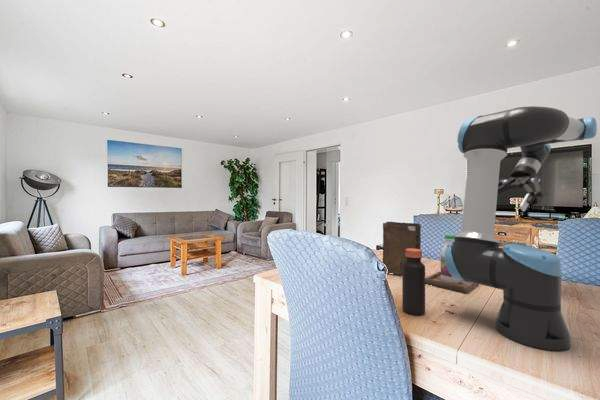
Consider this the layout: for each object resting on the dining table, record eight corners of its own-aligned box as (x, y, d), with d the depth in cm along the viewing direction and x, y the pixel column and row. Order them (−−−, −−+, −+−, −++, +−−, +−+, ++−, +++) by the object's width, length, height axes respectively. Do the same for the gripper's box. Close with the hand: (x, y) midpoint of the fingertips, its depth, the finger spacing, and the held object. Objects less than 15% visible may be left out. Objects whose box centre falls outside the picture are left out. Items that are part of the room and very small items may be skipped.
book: (422, 276, 125) (422, 223, 124) (417, 280, 119) (417, 224, 119) (386, 270, 135) (386, 221, 135) (381, 273, 130) (381, 222, 129)
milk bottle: (456, 278, 117) (456, 233, 117) (465, 284, 109) (465, 235, 109) (437, 278, 117) (437, 233, 117) (445, 284, 110) (445, 235, 110)
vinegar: (421, 317, 82) (421, 252, 82) (399, 311, 86) (399, 250, 86) (427, 310, 87) (427, 249, 87) (406, 305, 91) (406, 247, 91)
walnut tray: (467, 294, 102) (467, 287, 102) (424, 284, 113) (424, 278, 113) (478, 284, 112) (479, 279, 112) (438, 276, 124) (438, 271, 124)
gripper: (568, 175, 100) (545, 216, 94) (497, 179, 123) (475, 213, 117) (560, 160, 98) (536, 201, 92) (489, 167, 121) (466, 201, 115)
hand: (502, 208), depth 105 cm, fingers open, 13 cm apart
